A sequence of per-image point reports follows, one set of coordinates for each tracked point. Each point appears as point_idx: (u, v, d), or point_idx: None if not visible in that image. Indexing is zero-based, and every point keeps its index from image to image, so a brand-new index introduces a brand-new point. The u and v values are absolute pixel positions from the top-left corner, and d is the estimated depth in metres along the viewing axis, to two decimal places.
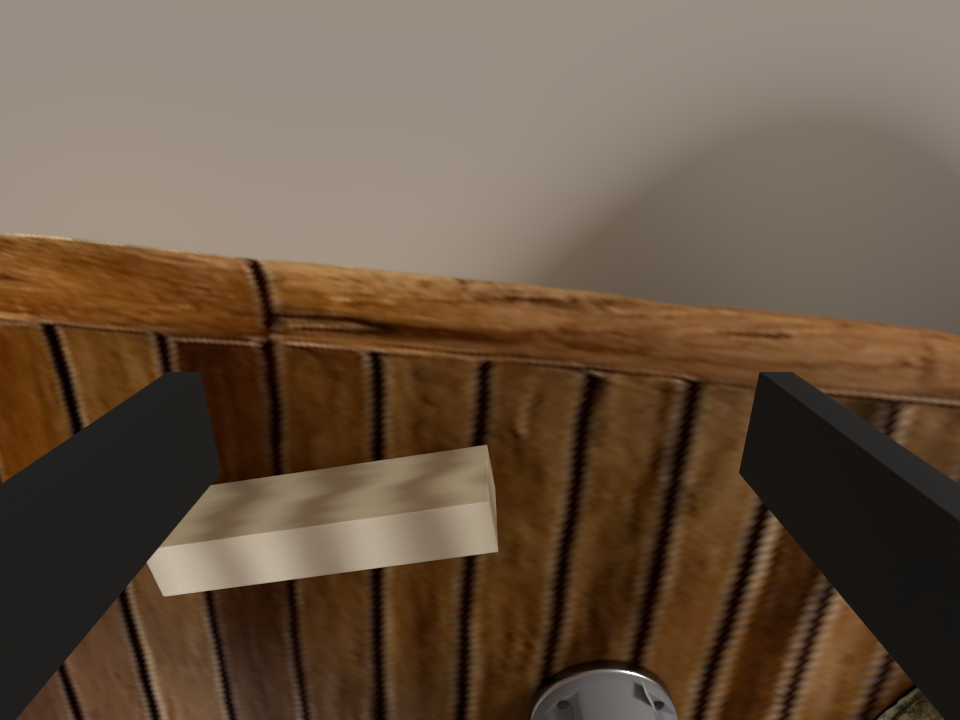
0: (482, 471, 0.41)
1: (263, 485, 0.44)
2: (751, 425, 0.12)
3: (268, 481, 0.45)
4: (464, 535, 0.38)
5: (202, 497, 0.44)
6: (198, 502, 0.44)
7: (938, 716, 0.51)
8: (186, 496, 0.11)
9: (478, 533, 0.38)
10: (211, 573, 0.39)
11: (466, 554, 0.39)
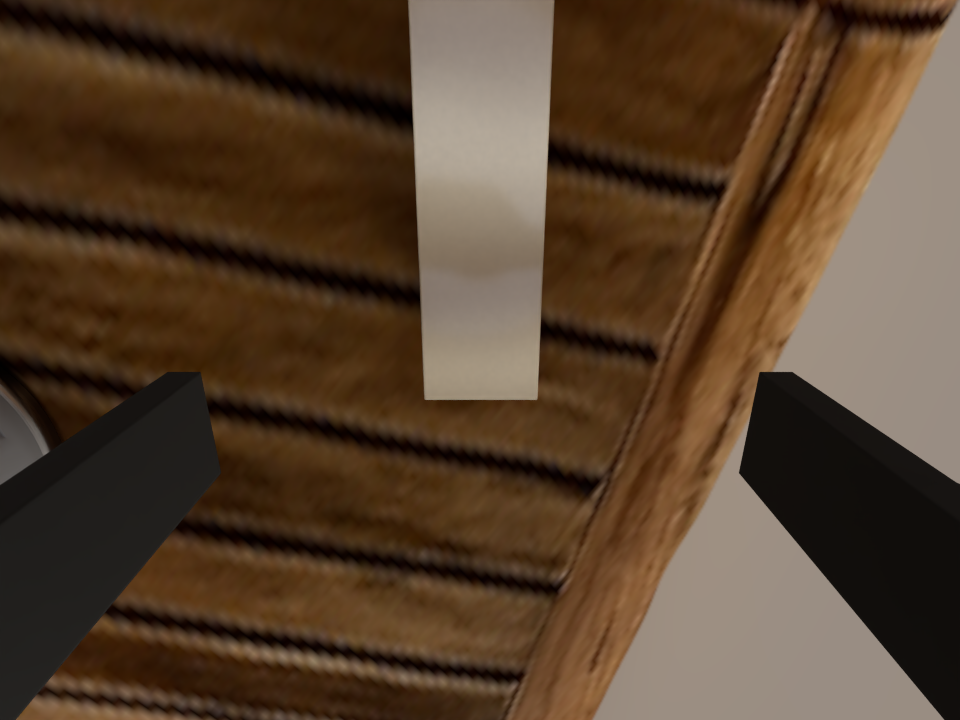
0: None
1: None
2: (751, 425, 0.12)
3: None
4: (471, 348, 0.20)
5: None
6: None
7: None
8: (186, 496, 0.11)
9: (472, 373, 0.20)
10: None
11: (426, 344, 0.20)
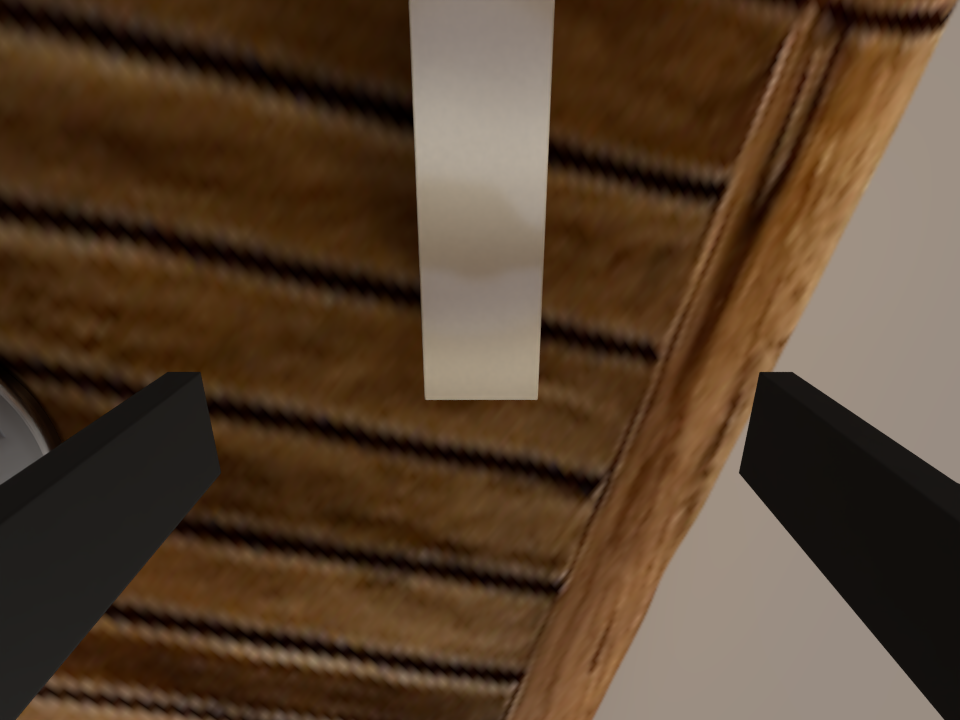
0: None
1: None
2: (751, 425, 0.12)
3: None
4: (471, 348, 0.20)
5: None
6: None
7: None
8: (186, 496, 0.11)
9: (472, 373, 0.20)
10: None
11: (426, 344, 0.20)
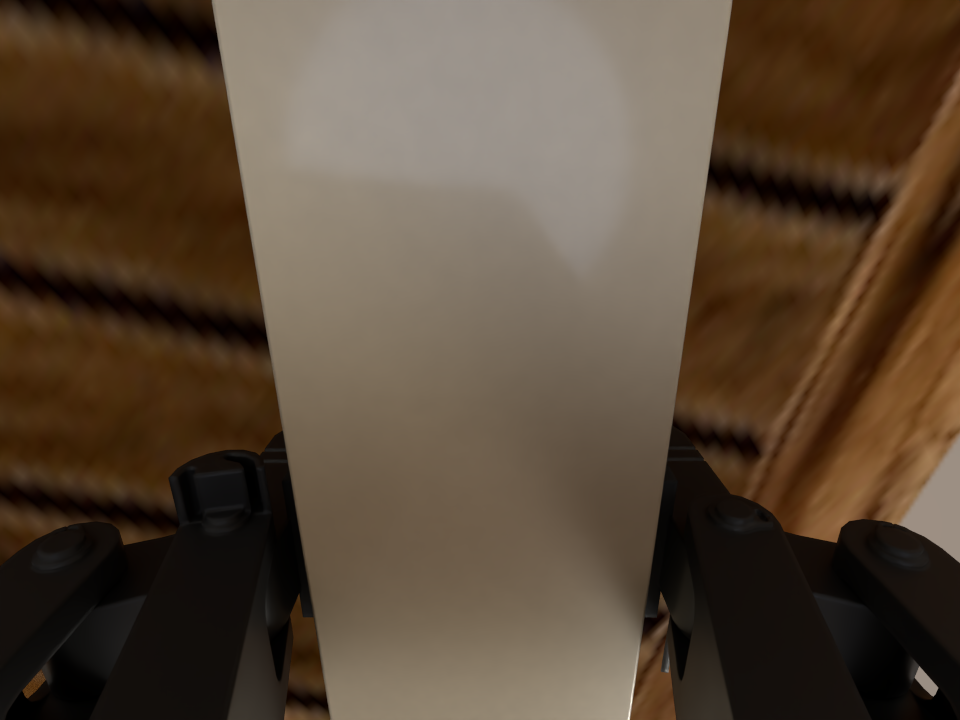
0: None
1: None
2: None
3: None
4: (453, 664, 0.07)
5: None
6: None
7: None
8: None
9: (457, 714, 0.08)
10: None
11: (330, 656, 0.07)
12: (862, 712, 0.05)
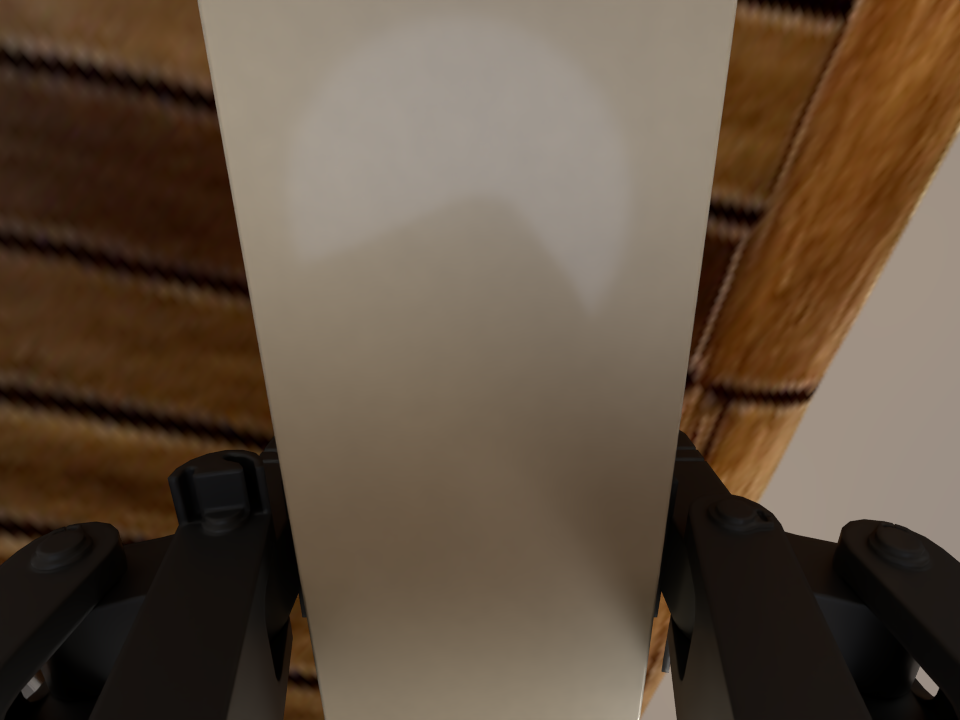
0: None
1: None
2: None
3: None
4: (454, 678, 0.07)
5: None
6: None
7: None
8: None
9: None
10: None
11: (326, 671, 0.07)
12: (862, 712, 0.05)
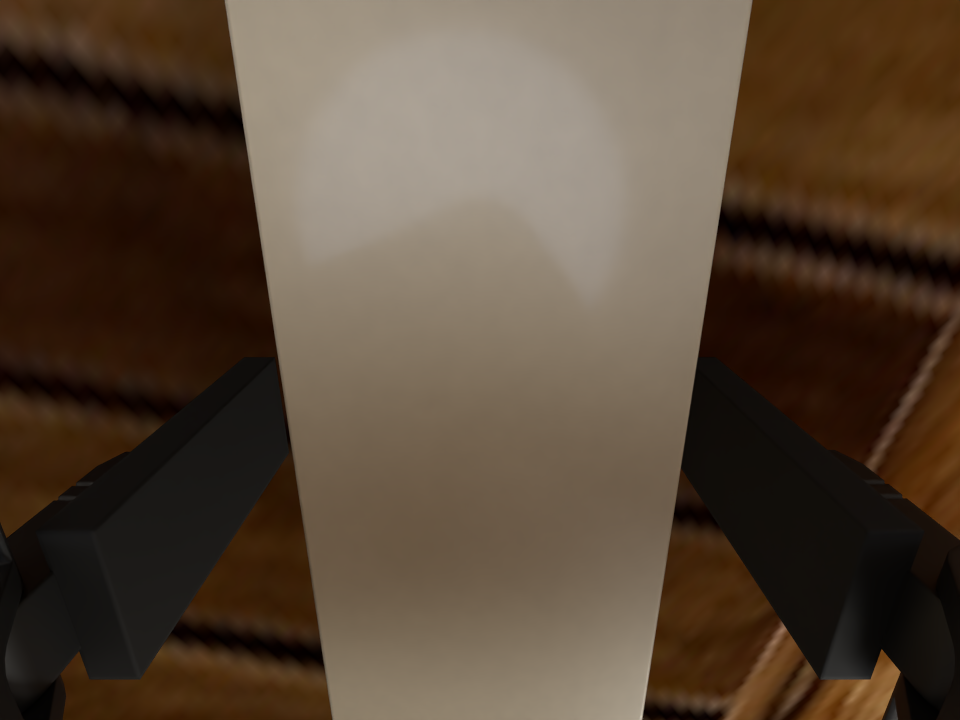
0: None
1: None
2: None
3: None
4: (461, 668, 0.07)
5: None
6: None
7: None
8: (264, 471, 0.12)
9: None
10: None
11: (333, 661, 0.07)
12: None
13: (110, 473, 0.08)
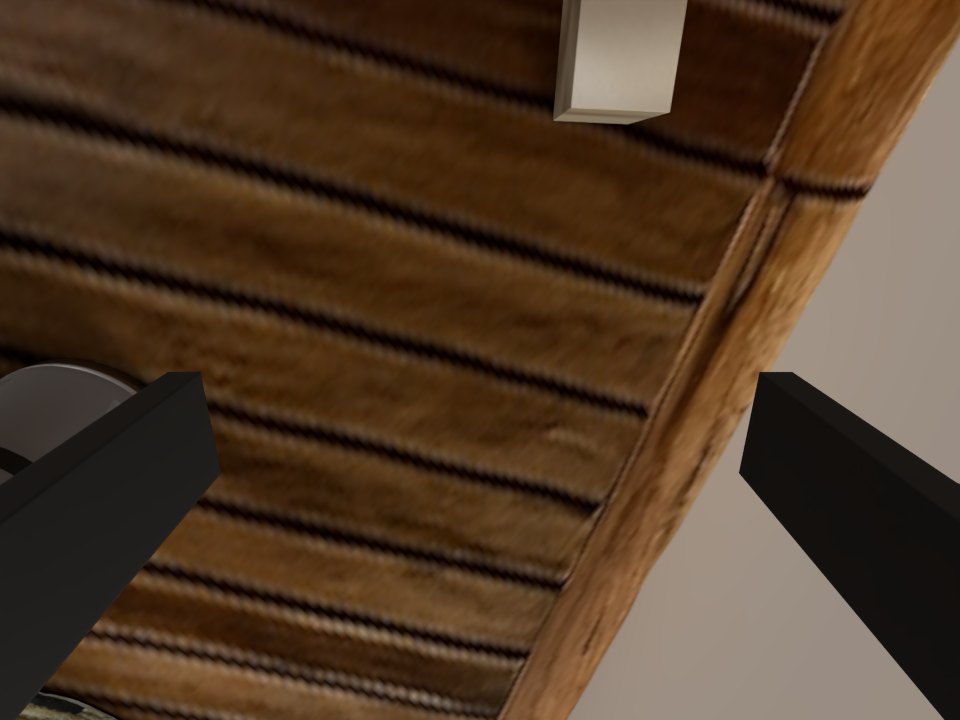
0: None
1: None
2: (751, 425, 0.12)
3: None
4: (619, 54, 0.23)
5: None
6: None
7: None
8: (186, 496, 0.11)
9: (616, 81, 0.23)
10: None
11: (579, 48, 0.23)
12: None
13: None
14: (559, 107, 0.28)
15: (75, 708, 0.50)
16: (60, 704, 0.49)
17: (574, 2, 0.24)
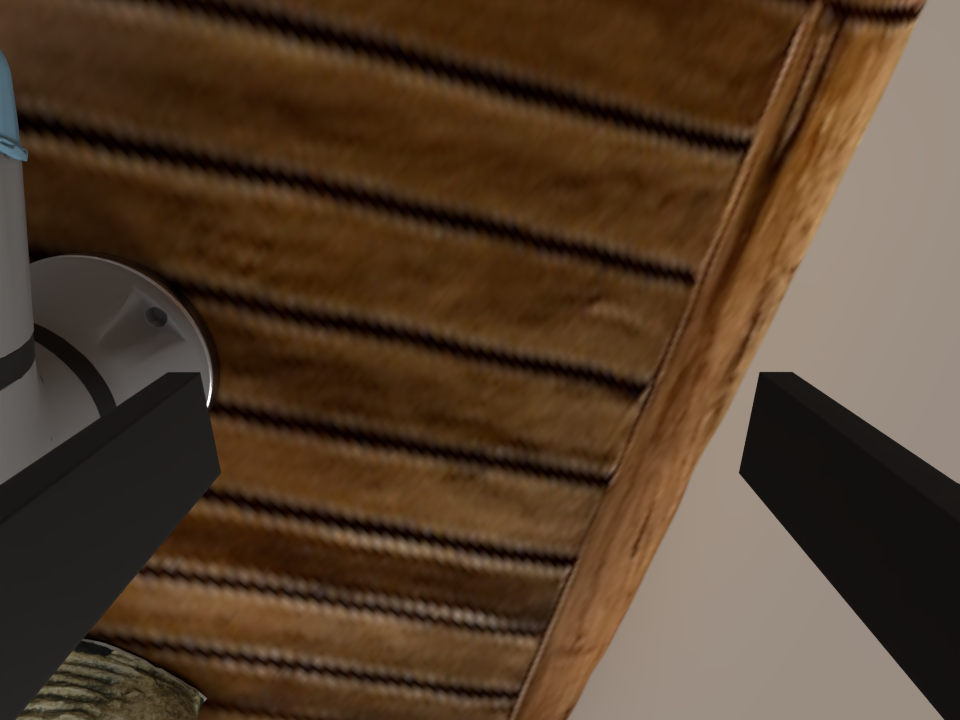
0: None
1: None
2: (750, 425, 0.12)
3: None
4: None
5: None
6: None
7: (171, 712, 0.46)
8: (186, 496, 0.11)
9: None
10: None
11: None
12: None
13: None
14: None
15: (104, 650, 0.48)
16: (87, 646, 0.47)
17: None
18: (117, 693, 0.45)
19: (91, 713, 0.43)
